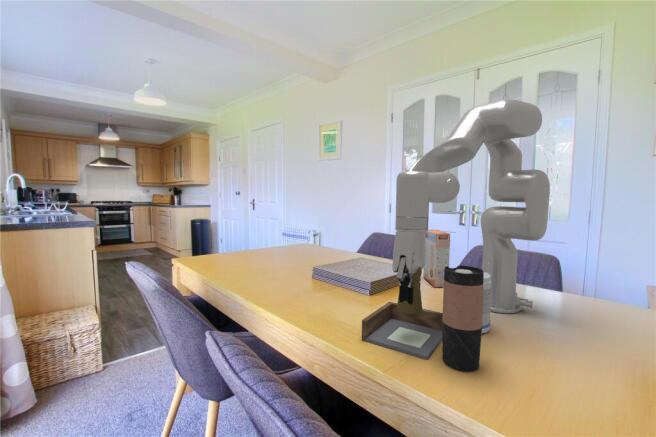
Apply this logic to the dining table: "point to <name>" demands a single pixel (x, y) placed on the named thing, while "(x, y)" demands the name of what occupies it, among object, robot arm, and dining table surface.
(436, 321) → the walls
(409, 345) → the mat
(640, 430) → the dining table surface
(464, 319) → the travel mug
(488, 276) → the supplement tub
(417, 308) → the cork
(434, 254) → the cracker box
